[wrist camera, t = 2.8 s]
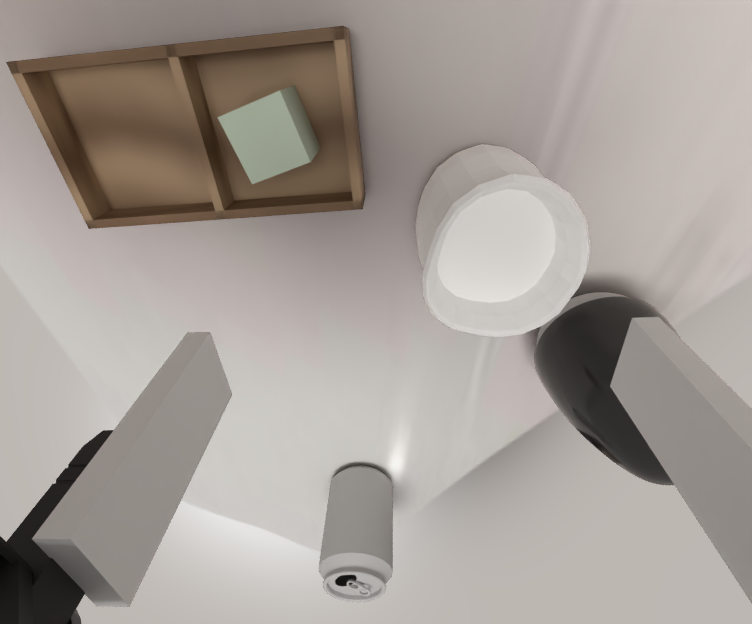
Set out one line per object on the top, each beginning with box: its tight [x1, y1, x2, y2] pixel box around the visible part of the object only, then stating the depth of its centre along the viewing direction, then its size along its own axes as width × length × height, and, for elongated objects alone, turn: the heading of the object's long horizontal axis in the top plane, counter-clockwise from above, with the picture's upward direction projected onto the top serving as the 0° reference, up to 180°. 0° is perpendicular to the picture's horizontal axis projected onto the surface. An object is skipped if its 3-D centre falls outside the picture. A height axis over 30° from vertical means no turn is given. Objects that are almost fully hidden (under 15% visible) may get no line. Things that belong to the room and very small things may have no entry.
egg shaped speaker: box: [534, 292, 680, 485], centre depth 29 cm, size 10×10×15 cm
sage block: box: [217, 85, 321, 184], centre depth 25 cm, size 4×4×4 cm
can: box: [319, 465, 393, 602], centre depth 44 cm, size 8×8×12 cm
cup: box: [415, 144, 591, 337], centre depth 26 cm, size 10×10×10 cm
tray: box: [6, 26, 365, 229], centre depth 27 cm, size 10×20×3 cm, turn 95°
